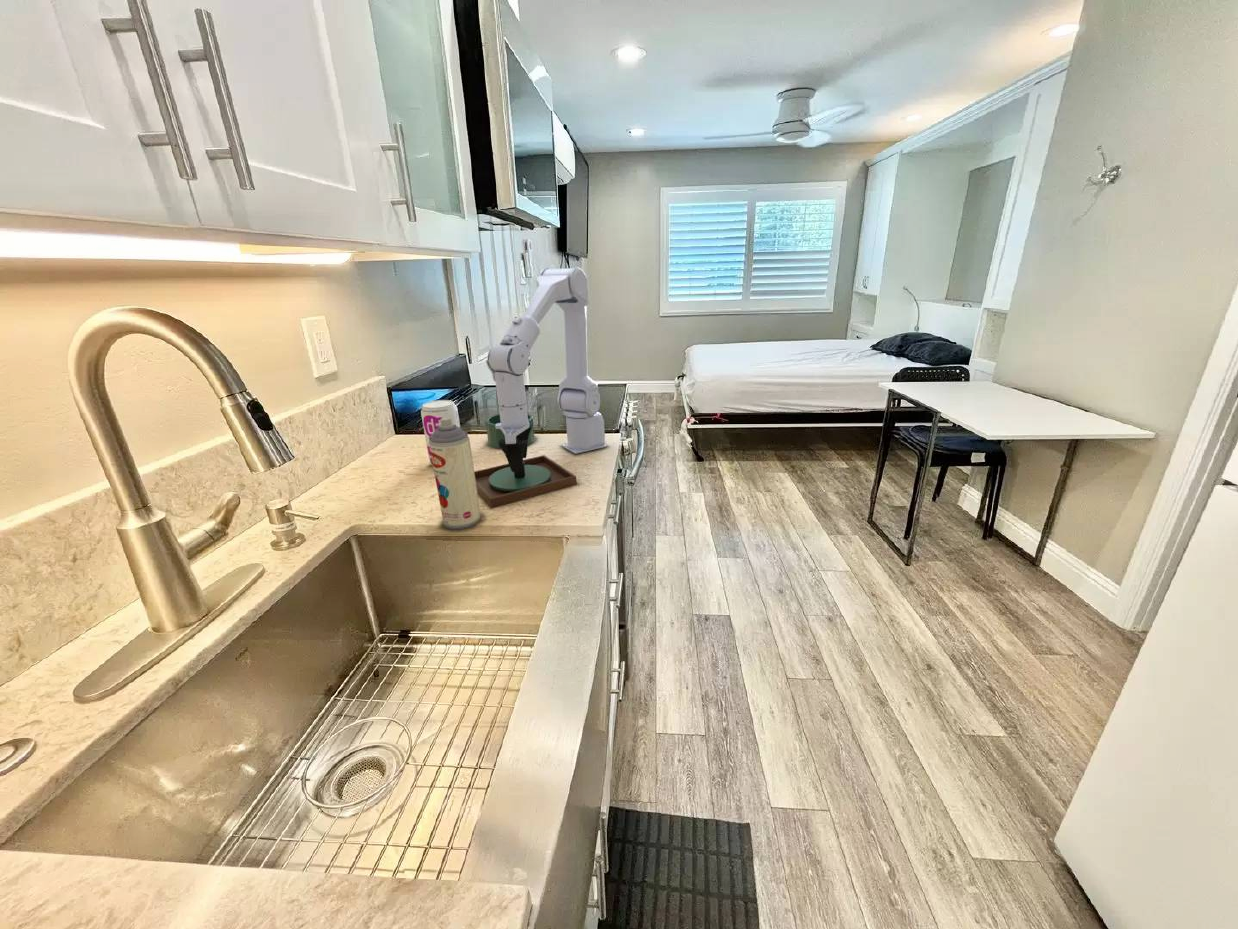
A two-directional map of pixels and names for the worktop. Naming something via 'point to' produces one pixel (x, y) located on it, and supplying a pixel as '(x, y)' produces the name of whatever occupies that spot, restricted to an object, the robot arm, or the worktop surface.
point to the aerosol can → (454, 476)
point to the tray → (499, 497)
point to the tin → (497, 434)
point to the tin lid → (519, 478)
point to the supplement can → (437, 417)
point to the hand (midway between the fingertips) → (519, 464)
